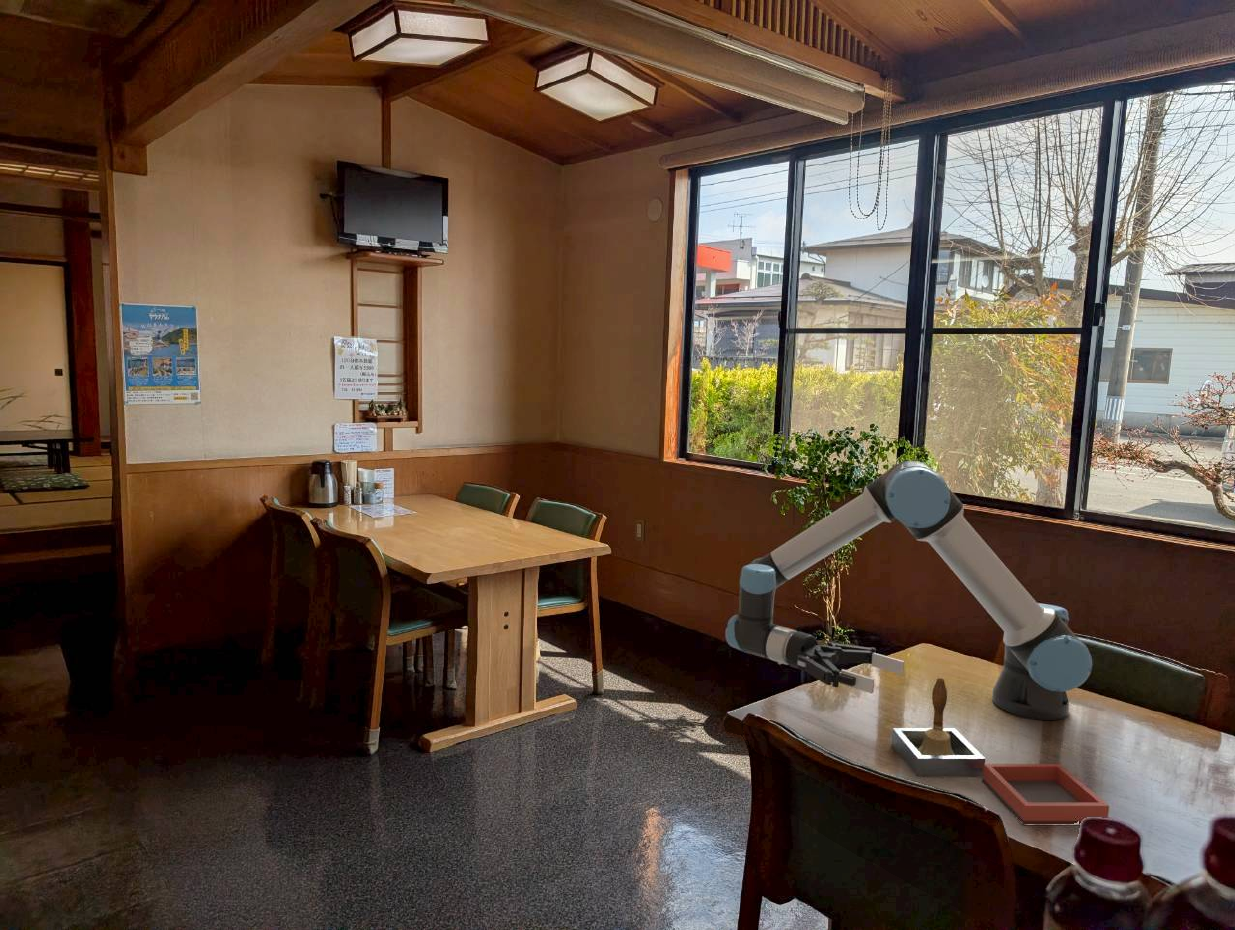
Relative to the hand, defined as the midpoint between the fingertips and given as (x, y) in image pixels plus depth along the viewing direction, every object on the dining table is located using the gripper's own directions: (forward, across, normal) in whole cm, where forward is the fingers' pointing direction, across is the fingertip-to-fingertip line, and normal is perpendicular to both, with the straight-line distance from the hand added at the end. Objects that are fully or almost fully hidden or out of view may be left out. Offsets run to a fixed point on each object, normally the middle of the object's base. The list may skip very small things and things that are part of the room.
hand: (888, 676), depth 161 cm
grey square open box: (+10, 0, -14) cm, 17 cm away
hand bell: (+10, 0, -14) cm, 17 cm away
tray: (+29, +2, -13) cm, 32 cm away
